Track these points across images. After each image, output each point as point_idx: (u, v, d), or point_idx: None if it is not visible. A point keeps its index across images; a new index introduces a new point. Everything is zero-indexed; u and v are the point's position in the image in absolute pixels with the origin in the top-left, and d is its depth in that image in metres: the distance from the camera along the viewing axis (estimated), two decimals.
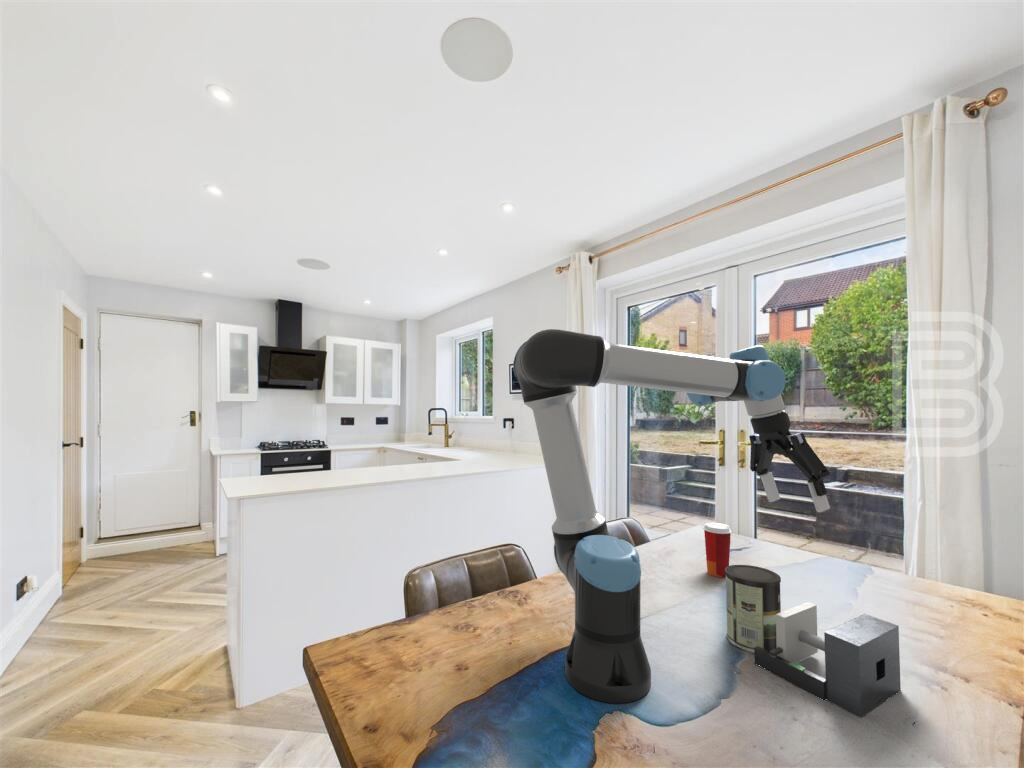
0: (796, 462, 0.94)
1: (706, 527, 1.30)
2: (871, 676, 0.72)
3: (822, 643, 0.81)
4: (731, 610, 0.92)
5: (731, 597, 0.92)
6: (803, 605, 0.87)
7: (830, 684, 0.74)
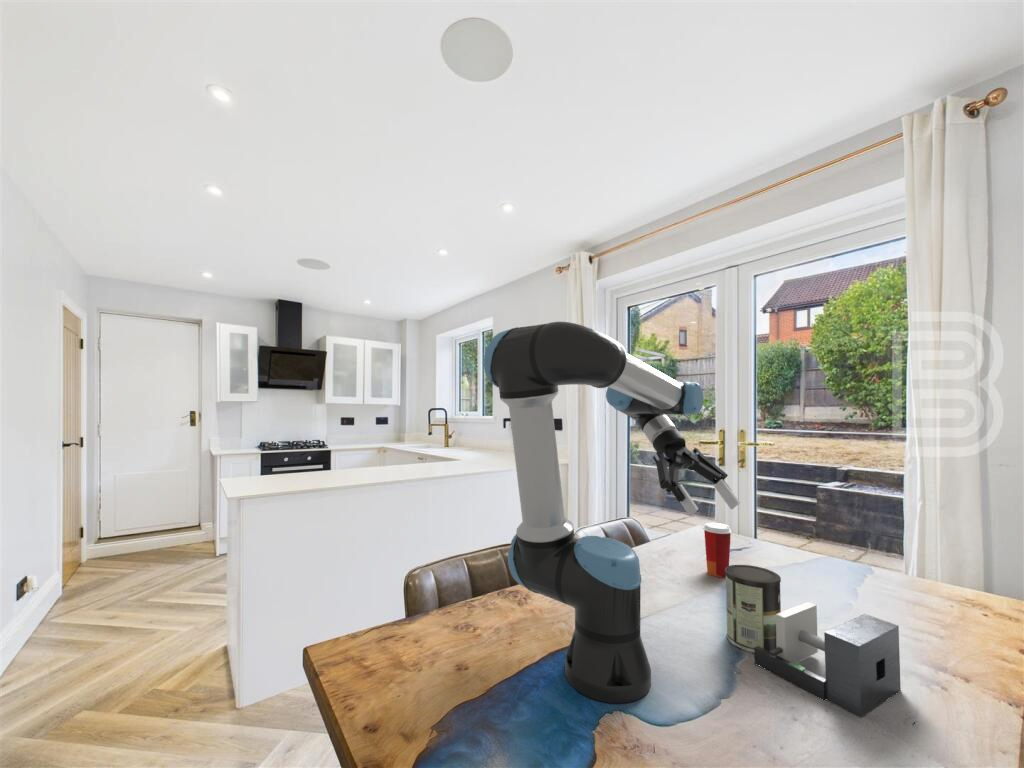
0: (706, 466, 1.09)
1: (706, 527, 1.30)
2: (871, 676, 0.72)
3: (822, 643, 0.81)
4: (731, 610, 0.92)
5: (731, 597, 0.92)
6: (803, 605, 0.87)
7: (830, 684, 0.74)
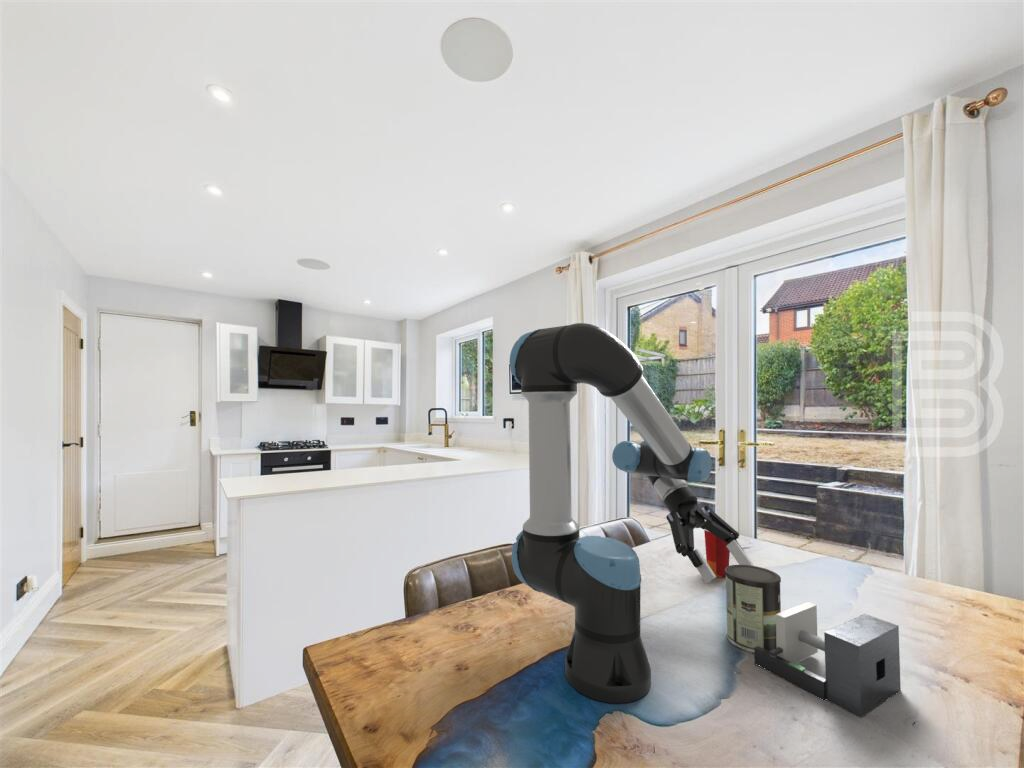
0: (718, 526, 1.08)
1: None
2: (871, 676, 0.72)
3: (822, 643, 0.81)
4: (731, 610, 0.92)
5: (731, 597, 0.92)
6: (803, 605, 0.87)
7: (830, 684, 0.74)
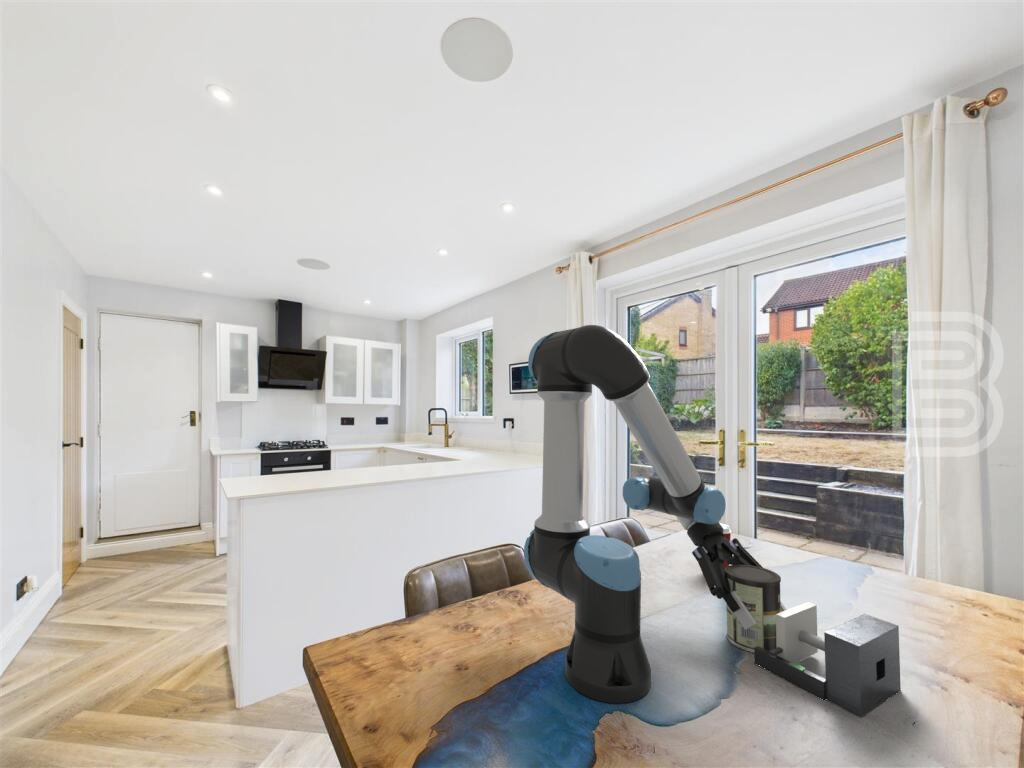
0: (747, 563, 0.99)
1: None
2: (871, 676, 0.72)
3: (822, 643, 0.81)
4: None
5: None
6: (803, 605, 0.87)
7: (830, 684, 0.74)
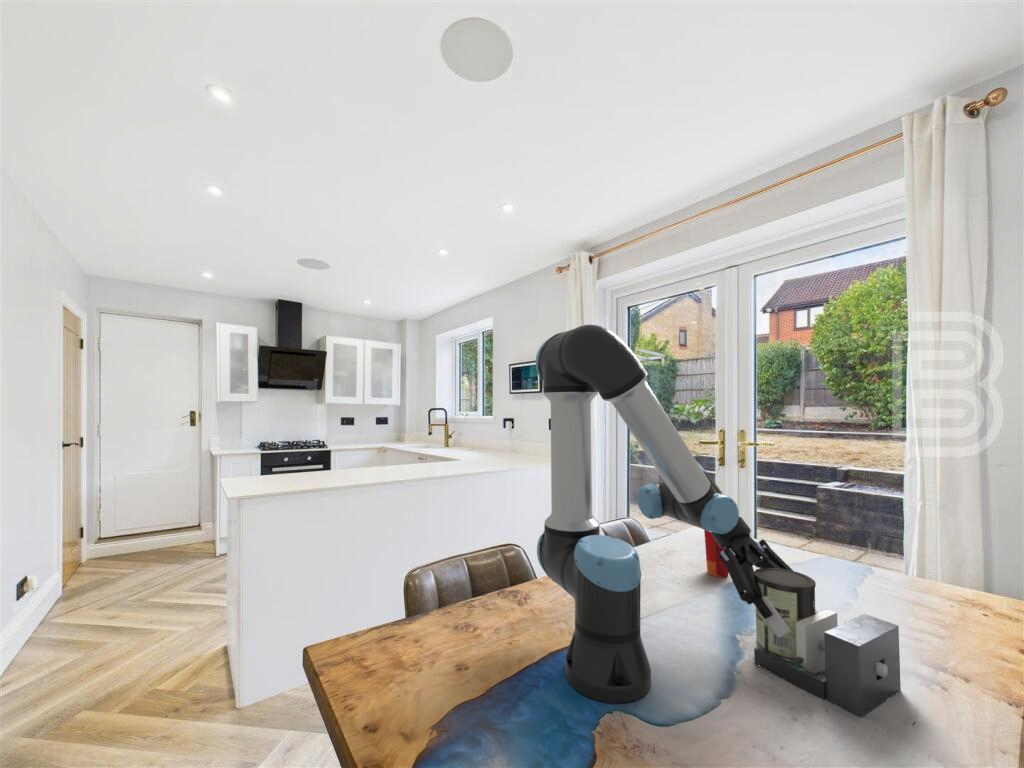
0: (776, 566, 0.93)
1: None
2: (871, 676, 0.72)
3: None
4: (762, 616, 0.86)
5: None
6: (823, 613, 0.84)
7: (830, 684, 0.74)
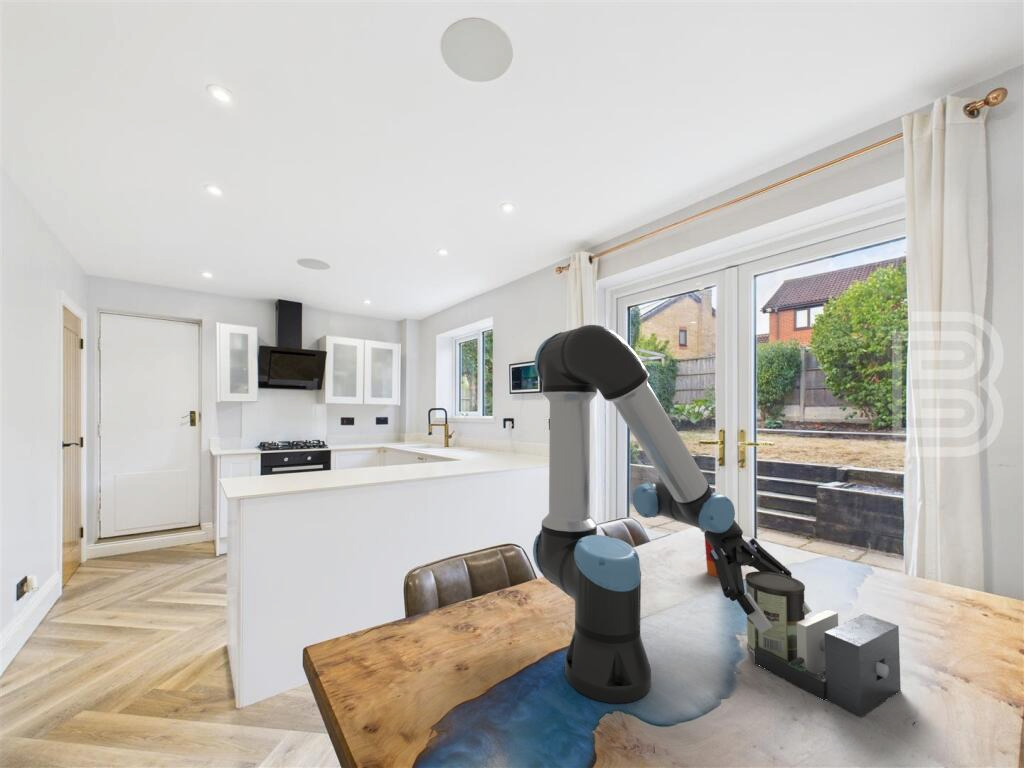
0: (768, 563, 0.95)
1: None
2: (871, 676, 0.72)
3: None
4: None
5: None
6: (824, 613, 0.84)
7: (830, 684, 0.74)
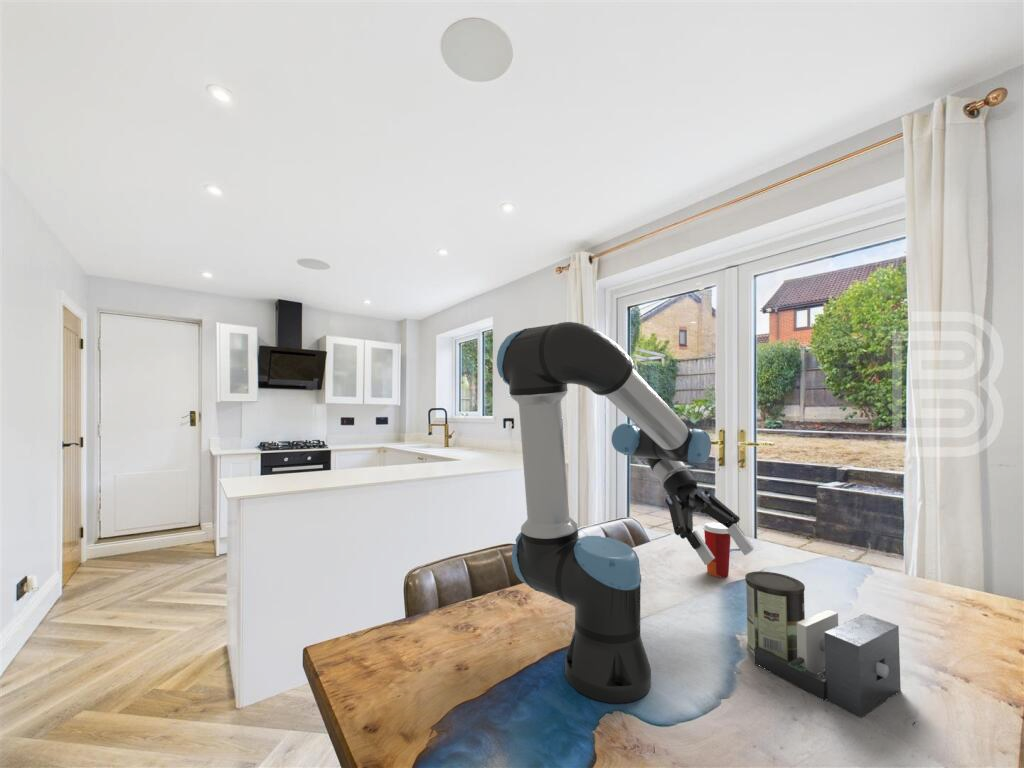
0: (718, 509, 1.07)
1: (706, 527, 1.30)
2: (871, 676, 0.72)
3: None
4: (752, 619, 0.88)
5: (753, 606, 0.88)
6: (824, 613, 0.84)
7: (830, 684, 0.74)
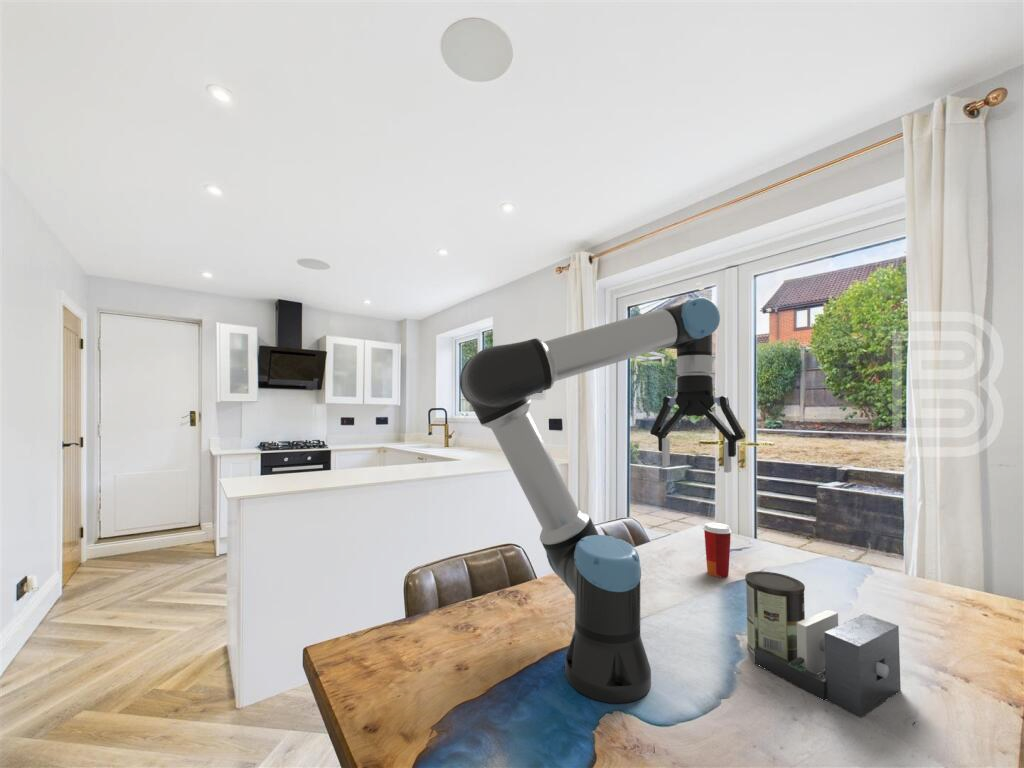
0: (717, 423, 0.97)
1: (706, 527, 1.30)
2: (871, 676, 0.72)
3: None
4: (752, 619, 0.88)
5: (753, 606, 0.88)
6: (824, 613, 0.84)
7: (830, 684, 0.74)
